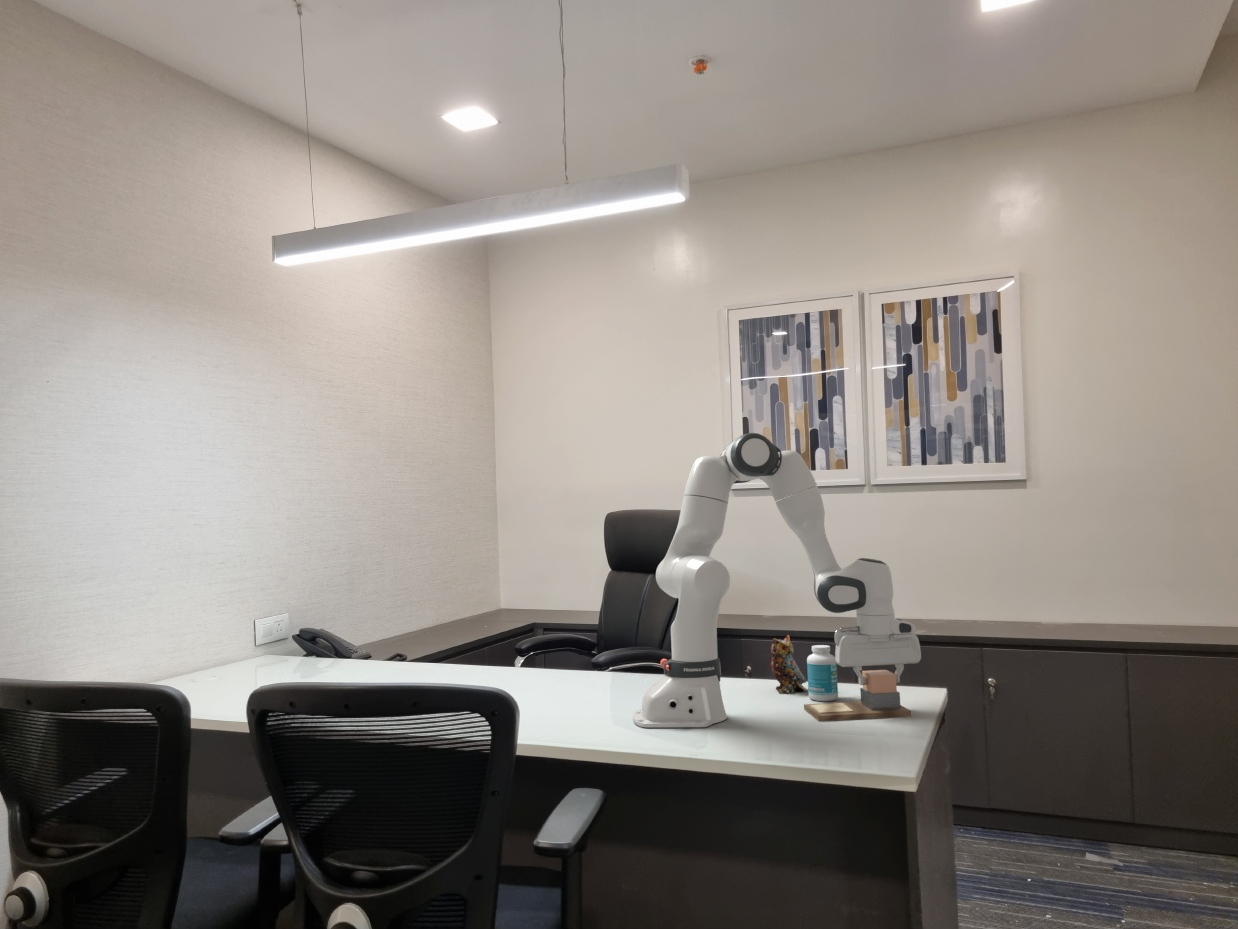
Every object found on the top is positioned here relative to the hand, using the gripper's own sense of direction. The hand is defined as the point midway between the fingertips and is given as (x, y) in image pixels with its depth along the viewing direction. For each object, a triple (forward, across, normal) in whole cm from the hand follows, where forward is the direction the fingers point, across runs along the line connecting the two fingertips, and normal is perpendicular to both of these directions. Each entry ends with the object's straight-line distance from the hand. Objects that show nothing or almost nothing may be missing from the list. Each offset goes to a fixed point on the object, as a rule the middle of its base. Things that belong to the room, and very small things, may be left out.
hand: (879, 683), depth 200 cm
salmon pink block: (+2, 0, 0) cm, 2 cm away
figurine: (+7, -15, +27) cm, 32 cm away
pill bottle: (+7, -9, +16) cm, 19 cm away
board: (+6, -6, 0) cm, 9 cm away
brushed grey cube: (+5, 0, 0) cm, 5 cm away
